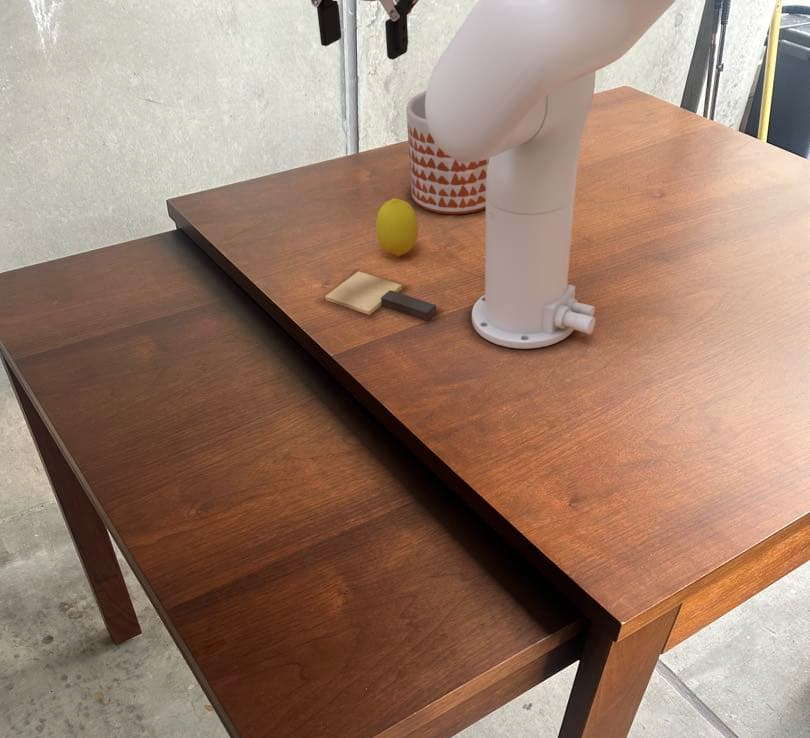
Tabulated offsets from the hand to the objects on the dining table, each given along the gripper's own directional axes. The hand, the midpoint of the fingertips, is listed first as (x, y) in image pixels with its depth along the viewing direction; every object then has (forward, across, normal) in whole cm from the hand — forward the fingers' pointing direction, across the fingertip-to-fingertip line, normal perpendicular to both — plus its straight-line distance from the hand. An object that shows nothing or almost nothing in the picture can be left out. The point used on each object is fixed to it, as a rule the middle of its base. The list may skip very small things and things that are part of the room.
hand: (363, 48), depth 101 cm
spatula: (+24, +10, -12) cm, 29 cm away
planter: (+24, +2, +17) cm, 30 cm away
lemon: (+24, +5, -2) cm, 25 cm away
